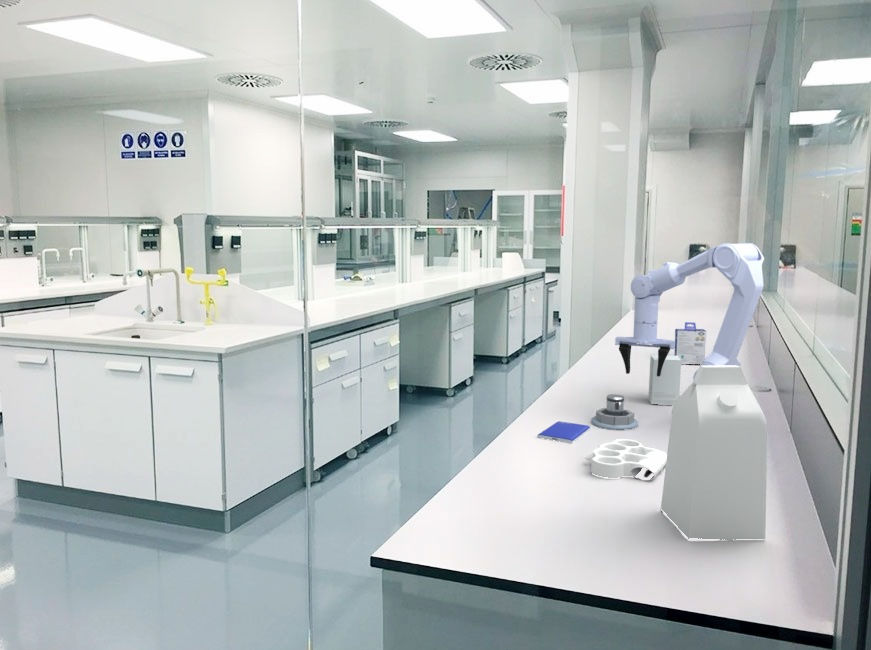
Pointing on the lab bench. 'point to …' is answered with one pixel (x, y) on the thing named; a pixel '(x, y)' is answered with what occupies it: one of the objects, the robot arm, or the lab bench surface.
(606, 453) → the white holed flat tray
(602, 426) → the collar
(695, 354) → the ink cartridge box
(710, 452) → the milk
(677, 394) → the supplement box
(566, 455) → the lab bench surface
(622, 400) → the silver metal canister
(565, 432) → the hard drive
